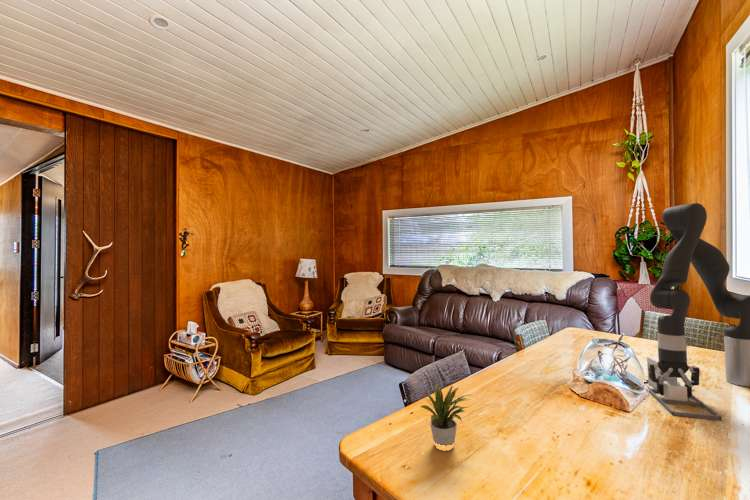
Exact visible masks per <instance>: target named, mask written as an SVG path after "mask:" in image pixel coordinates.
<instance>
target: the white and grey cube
mask: <svg viewBox="0 0 750 500" xmlns="http://www.w3.org/2000/svg"><path fill="white" fill-rule="evenodd" d="M663 385H664V395H661V396H662V397H664V399H670V400H680V401H688V398H687V387H686V386H684V385H685V384H682V383H681V382H678V381H677V382H668V381H664V382H663Z"/></svg>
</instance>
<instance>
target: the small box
mask: <svg viewBox="0 0 750 500" xmlns="http://www.w3.org/2000/svg"><path fill="white" fill-rule="evenodd" d="M658 361H659V358H658V356H647V357H646V363H647V368H648V363H651V364H657V363H658ZM660 371H661V370H660V369H659V367H657V370H655V375H656V378H657V377H658V374H659V373H660ZM647 380H648V383H647V384H648V385H649V386H651V387H652V388H653V389H657V383H656V382H653V381H652V380H650V378H649V371H648V370H647ZM665 381H668V382H678V378H677V377H668V378H667V379H666V380H665Z"/></svg>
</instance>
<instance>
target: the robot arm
mask: <svg viewBox="0 0 750 500" xmlns="http://www.w3.org/2000/svg"><path fill="white" fill-rule="evenodd" d="M707 213H708V212H707V209H706V208H705V206H704V205H703V204H701V203H698V202H693V203H685V204H680V205H675V206H670V207H667V208H665V209H664V210H663V212H662V221H663V224H664V226H665V228H666V229H667V230H668V232H669V233H670V234H671V236H672V237H673V238H674V239H675V240H676V242H677V243H676V244H675V245H674V246H673V248H672V249H671V250H670V251H669V252H667V253H668V254H667V255H666V256H665V258H664V261H663V265H662V270H661V275H660V277H659V278H658V280H657V282H656V283H655V285H654V286H653V288H652V291H651V293H650V295H649V300H650V301H649V302H650V303H651V305H652V306H654V307H655V308H656V309H663V310H664V309H665V310H672V313H671V315H670V314H669V315H661V316H659V317H658V318H657V353H658V354H657V355H658V356H657V357H658V358H659V361H658V363H657V364H651V363H648V367H647V372H648V371H649V378H650V380H652V381H653V382H656V383H657V392H658V393H657V394H659V395H660V396H662V395H664V385H663V382H664V381H665V380H666V379H667V378H668V377H677V379H681V380H682V381H683V383H684V384H683V385H684V386H686V387H687V399H691V397H690V396H692V395H693V386H699V385H700V373H701V372H700V370H701V369H700V368H699V367H698V366H696V365H689V364H688V356H687V355H688V353H687V348H688V346H687V340H686V336H685V335H686V334H685V332H686V331H685V330H686V329H685V321H686V317H687V315H688V311H689V308H690V305H691V297H690V295H689V293H688V292H687V291H685V290H684V289H679V288H678V289H677V288H673V287H675V286H680V285H684V284H686V282H688V278H689V276H688V275H689V272H690V268H691V267H690V265H692V267H693V268H694V270H695V271H696V274H698V276H699V277H700V279H701V281H702V282H703V284H704V285H705V287H706V289H707V292H708V293H709V296H710V298H711V301H712V303H713V305H714V307H715V310H716V311H717V312H718V314H720V315H721V316H722V317H725V318H727V319H728V318H729V319H736V320H739V324H737V325H735V326H728V327H725V328H723V342H724V364H725V365H724V367H725V378H726V379H725V380H726V382H727V383H730V384H733V385H737V386H742V387H749V388H750V295H749V294H738V293H737V294H735V293H731V292H729V291H728V289H727V287H726V284H725V283H726V280H727V278H728V277H729V274H730V269H731V268H730V264H729V262H728V260H727V259H726V257H725V255H724V254H723V252H722V251H721V250H720V249H719V248H717V247H716V246H714V245H713V244H711V243H709V242H708V241H706V240H704V239H702V238H701V236H702V233H703V232H704V229H705V226H706V223H707V218H708V214H707ZM657 367H659V369H660V370H661V371H660V373H659V374H658V377H657V378H656V375H655V370H657ZM687 372H690V374H691V375H690V379H689V377H688V376H687V375H686V373H687Z"/></svg>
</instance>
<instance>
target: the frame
mask: <svg viewBox="0 0 750 500" xmlns="http://www.w3.org/2000/svg"><path fill="white" fill-rule="evenodd" d="M645 380H646V381H647V383H646V384H648V379H645ZM647 387H648V389H649V392H648V393H649V394H650V395H651V396H652V397H653V398H654V399H655V400H656V401H657V402H658V403H659V404H660V406H662V407H663V408H664V409H666V410H667V412H669V414H670V415H672V416H678V417H688V418H697V419H699V418H700V419H707V420H716V421H717V420H718V421H722V420H723V417H722V415H720V414H719V413H718V412H716V411H715V410H714V409H712V408H711V407H710V406H708V405H707V404H705V403H704V402H703V401H702V400H701V399H699V398H697V397H696V396H695V395H694V394H692V396H690V399H692V400H693V401H690V400H687V401H680V400H670V399H666V398H660V397H659V396H658V395H657V394H659V393H658V392H657V389H656V388H650V387H649V386H647ZM668 404H675V405H685V406H694V407H696V406H697V407H702V408H704V409H705V410H706V411H707V412H708V413H710V414H704V413H697V412H696V413H695V412H685V411H678V410H677V411H675V410H673V409H672V408H671V407H670V406H668Z"/></svg>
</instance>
